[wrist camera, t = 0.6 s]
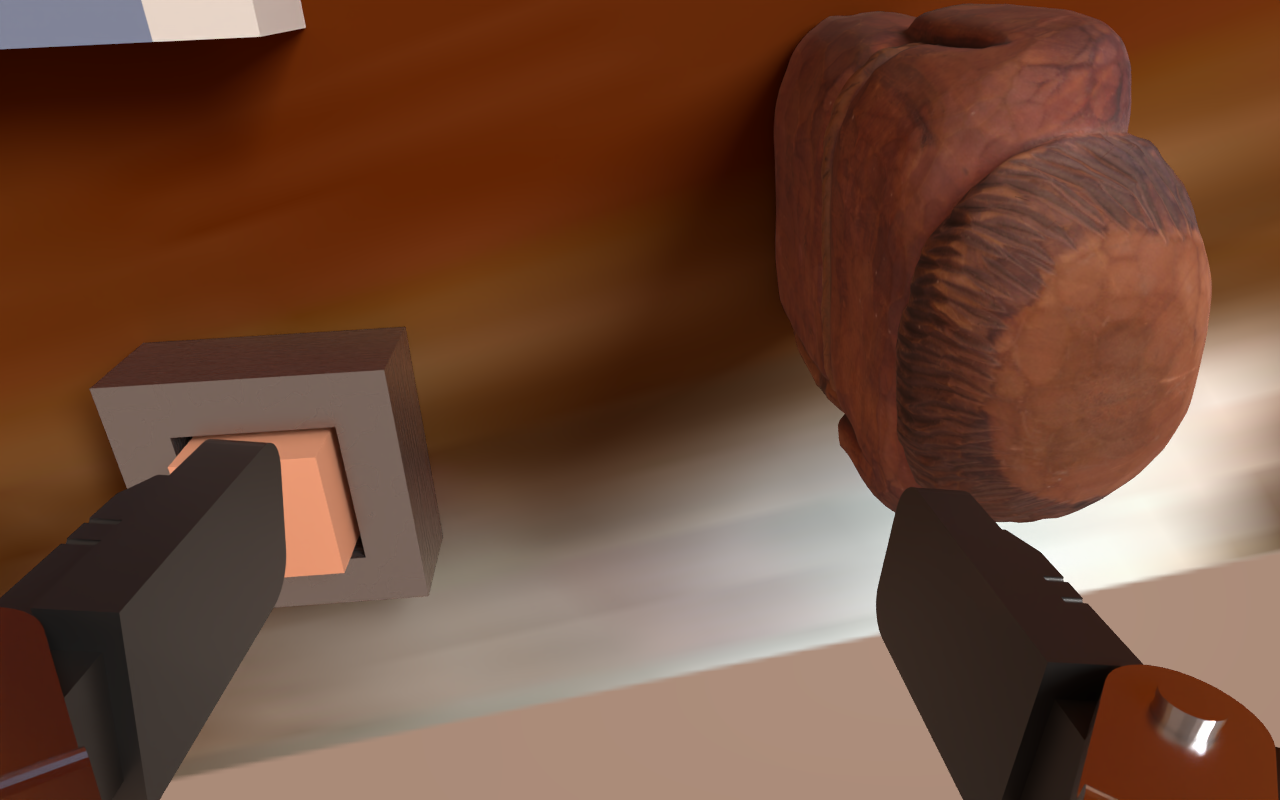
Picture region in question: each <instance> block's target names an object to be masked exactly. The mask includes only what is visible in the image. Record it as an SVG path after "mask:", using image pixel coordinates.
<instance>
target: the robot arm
mask: <svg viewBox="0 0 1280 800" xmlns="http://www.w3.org/2000/svg"><path fill="white" fill-rule="evenodd" d="M285 569H286V539H285V523H284V507H283V491H282V475H281V462H280V456H279V452H278V449H277V447H276V446H275V445H274V444H273V443H266V442H251V441H236V440H221V439H208V440H206V441H204V442H203V443H202V444H201V445H200V446H199V447H198V448H197V449H196V450H195V451H194V452H193V453H192V454H191V455H189V456H188V457H187V458H186V459H185V460H184V461H183V462H182V463H181V464H180V465H179V466H178V467H177V468H176V469H175V470H174V471H173V472H172V473H171V474H170V475H156V476H153V477H151V478H149V479H147V480H145V481H143V482H141V483H139V484H136V485H134V486H132V487H130V488H128V489H126V490H124V491H122V492H120V493H117V494H116V495H115V496H114V497H113V498H111V499H110V500H109V501H108V502H107V503H106V504H105V505H104V506H103V507H101V508H100V509H99V510H98V511H97V512H96V513H95V514H94V515H92V516H91V517H90V521H89V523H84V524H82V525H81V526H80V527H79V528H78V529H77V530H76V531H75V532H73V533H72V534H71V535H70V536H69V537H68V538H67V542H66V544H60V545H59V546H58V547H57V548H56V549H54V550H53V551H52V552H51V553H50V554H49V555H48V556H47V557H46V558H44V559H43V560H42V561H41V562H40V563H39V564H38V565H37V566H36V567H34V568H33V569H32V570H31V571H30V572H29V573H28V574H27V575H25V576H24V577H23V578H22V579H21V580H20V581H19V582H18V583H17V584H15V585H14V586H13V587H12V588H11V589H10V590H9V591H8V592H6V593H5V594H4V595H3V596H2V597H1V598H0V800H160V798H161V796H162V795H163V793H164V791H165V790H166V788H167V786H168V785H169V783H170V781H171V780H172V778H173V776H174V775H175V773H176V771H177V770H178V768H179V766H180V764H181V763H182V761H183V759H184V758H185V756H186V754H187V753H188V751H189V749H190V748H191V746H192V744H193V743H194V741H195V739H196V738H197V736H198V734H199V732H200V731H201V729H202V727H203V726H204V724H205V722H206V721H207V719H208V717H209V716H210V714H211V712H212V711H213V709H214V707H215V705H216V704H217V702H218V700H219V699H220V697H221V695H222V694H223V692H224V690H225V689H226V687H227V685H228V684H229V682H230V680H231V679H232V677H233V675H234V673H235V672H236V670H237V668H238V667H239V665H240V663H241V662H242V660H243V658H244V657H245V655H246V653H247V652H248V650H249V648H250V646H251V645H252V643H253V641H254V640H255V638H256V636H257V635H258V633H259V631H260V630H261V628H262V626H263V625H264V623H265V621H266V619H267V618H268V616H269V614H270V613H271V611H272V609H273V608H274V606H275V604H276V602H277V600H278V598H279V595H280V592H281V589H282V585H283V581H284V576H285ZM1082 599H1083V598H1082V597H1081V596H1080V595H1079V594H1078V593H1077V591H1076V590H1075V589H1074V588H1073V587H1072V586H1071V585H1070V584H1069V583H1068V582H1064V581H1063V576H1062V575H1061V574H1060V573H1059V572H1058V571H1057V570H1056V568H1055V567H1054V566H1053V565H1052V564H1051V563H1050V562H1049V561H1048V560H1047V559H1046V558H1045V556H1044V555H1043V554H1042V553H1041V552H1039V551H1038V550H1036V549H1035V548H1033V547H1032V546H1030V545H1029V544H1027V543H1025V542H1024V541H1022V540H1021V539H1019V538H1018V537H1016V536H1015V535H1013V534H1011V533H1010V532H1008V531H1007V530H1002V529H1001V528H1000V527H999V526H998V525H997V524H996V522H995V521H994V520H993V519H992V518H991V517H990V516H989V514H988V513H987V512H986V511H985V510H984V509H983V508H982V506H981V505H980V504H979V503H978V502H977V501H976V500H975V498H974V497H973V496H972V495H971V494H970V493H969V492H967V491H962V490H947V489H932V488H917V487H909V488H907V489H906V490H905V491H904V492H903V493H902V495H901V497H900V499H899V501H898V505H897V508H896V513H895V517H894V521H893V525H892V530H891V534H890V538H889V542H888V546H887V551H886V555H885V559H884V563H883V568H882V572H881V576H880V580H879V584H878V589H877V597H876V613H877V622H878V627H879V631H880V634H881V636H882V639H883V641H884V643H885V645H886V647H887V649H888V651H889V653H890V655H891V656H892V658H893V660H894V663H895V665H896V667H897V669H898V670H899V673H900V674H901V677H902V679H903V680H904V683H905V685H906V686H907V689H908V690H909V693H910V695H911V697H912V699H913V701H914V703H915V705H916V706H917V709H918V711H919V712H920V715H921V716H922V718H923V721H924V722H925V725H926V727H927V728H928V731H929V733H930V734H931V736H932V738H933V741H934V742H935V744H936V746H937V748H938V750H939V752H940V754H941V756H942V758H943V760H944V762H945V764H946V766H947V768H948V770H949V772H950V774H951V776H952V778H953V780H954V782H955V784H956V786H957V788H958V790H959V792H960V794H961V796H962V798H963V800H1280V748H1278V747H1275V745H1274V741H1273V739H1272V737H1271V735H1270V733H1269V732H1268V730H1267V729H1266V727H1265V726H1264V725H1263V723H1262V722H1260V720H1259V719H1258V718H1257V717H1256V716H1255V715H1254V714H1253V713H1251V712H1250V711H1249V710H1248V709H1246V708H1245V707H1244V706H1243V705H1242V704H1240V703H1239V702H1238V701H1236V700H1235V699H1233V698H1232V697H1230V696H1229V695H1227V694H1226V693H1224V692H1222V691H1221V690H1219V689H1217V688H1215V687H1213V686H1211V685H1209V684H1207V683H1205V682H1203V681H1201V680H1199V679H1196V678H1194V677H1192V676H1189V675H1186V674H1183V673H1180V672H1178V671H1174V670H1170V669H1166V668H1163V667H1157V666H1151V665H1143V664H1142V663H1141V661H1140V660H1139V659H1138V658H1137V657H1136V656H1135V655H1134V654H1133V653H1132V652H1131V650H1130V649H1129V648H1128V647H1127V646H1126V645H1125V644H1124V643H1123V642H1122V641H1121V640H1120V638H1119V637H1118V636H1117V635H1116V634H1115V633H1114V632H1113V631H1112V630H1111V629H1110V628H1109V626H1108V625H1107V624H1106V623H1105V622H1104V621H1103V620H1102V619H1101V618H1100V617H1099V616H1098V614H1097V613H1096V612H1095V611H1094V610H1093V609H1092V608H1091V607H1090V606H1089V605H1088V604H1086V603H1083V602H1082Z"/></svg>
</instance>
